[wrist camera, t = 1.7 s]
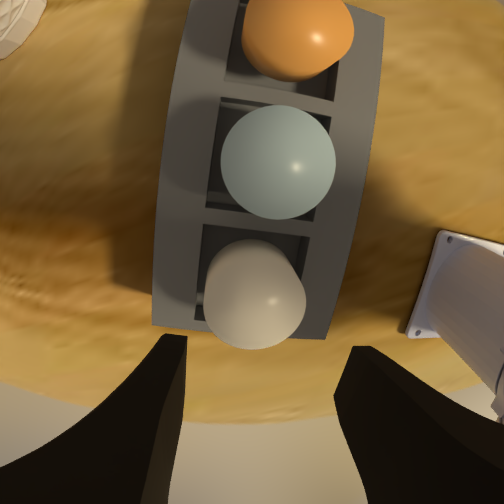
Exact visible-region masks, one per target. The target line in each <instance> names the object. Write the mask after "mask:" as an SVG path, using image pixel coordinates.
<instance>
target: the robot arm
mask: <svg viewBox="0 0 504 504" xmlns="http://www.w3.org/2000/svg"><path fill="white" fill-rule="evenodd" d="M448 237H449V240H448V241H447V239H448ZM417 330H418V331H417ZM416 331H417V332H416ZM405 335H406V336H407V337H408V338H436V337H441V338H442V339H443V340H444V341H445V342H446V343H447V344H448V345H449V346H450V347H451V348H452V349H453V350H454V351H455V352H456V353H457V354H458V355H459V356H460V357H461V358H462V359H463V360H464V361H465V362H466V363H467V364H468V365H469V367H470V368H471V369H472V370H473V371H474V372H475V373H476V374H477V375H478V376H479V377H480V378H481V379H482V381H483V382H484V383H485V384H486V385H487V386H488V387H489V388H490V389H491V390H492V391H493V392H494V394H495V395H496V397H495V399H494V401H493V403H492V404H491V408H492V409H493V410H494V411H495V412H496V413H497V415H498V416H499V417H498V418H497V420H496V422H495V421H493V420H490V419H488V418H486V417H483V416H481V415H479V414H477V413H475V412H473V411H471V410H469V409H467V408H465V407H463V406H461V405H459V404H458V403H456V402H454V401H453V400H451V399H449V398H448V397H446V396H445V395H443V394H441V393H440V392H438V391H436V390H435V389H433V388H432V387H430V386H429V385H427V384H426V383H425V382H423V381H422V380H420V379H419V378H417V377H416V376H414V375H413V374H412V373H410V372H409V371H407V370H406V369H404V368H403V367H402V366H400V365H399V364H397V363H396V362H395V361H393V360H392V359H390V358H389V357H387V356H386V355H384V354H383V353H381V352H380V351H378V350H377V349H375V348H373V347H371V346H353V347H352V350H351V352H350V355H349V358H348V360H347V363H346V366H345V368H344V371H343V373H342V376H341V378H340V381H339V383H338V386H337V388H336V391H335V393H334V395H333V396H334V401H335V406H336V411H337V415H338V419H339V423H340V426H341V428H342V431H343V433H344V436H345V439H346V441H347V444H348V446H349V449H350V451H351V454H352V456H353V459H354V462H355V464H356V466H357V469H358V472H359V474H360V477H361V479H362V483H363V486H364V489H365V492H366V496H367V500H368V504H504V245H503V244H499V243H495V242H491V241H488V240H484V239H480V238H475V237H471V236H467V235H463V234H459V233H454V232H450V231H446V230H441V231H439V233H438V234H437V237H436V241H435V244H434V248H433V251H432V255H431V258H430V262H429V265H428V268H427V272H426V275H425V278H424V281H423V284H422V287H421V290H420V293H419V296H418V299H417V302H416V304H415V307H414V310H413V313H412V315H411V318H410V321H409V323H408V326H407V328H406V331H405ZM187 337H188V336H182V335H174V334H166V333H165V334H164V335H162V336H161V337H160V338H159V340H158V341H157V343H156V344H155V345H154V347H153V348H152V349H151V351H150V352H149V353H148V354H147V356H146V357H145V358H144V359H143V360H142V362H141V363H140V364H139V365H138V366H137V367H136V368H135V369H134V371H133V372H132V373H131V374H130V375H129V376H128V377H127V378H126V379H125V380H124V381H123V382H122V383H121V384H120V385H119V386H118V387H117V388H116V389H115V390H114V391H113V392H112V393H111V394H110V395H109V396H108V397H107V398H106V399H105V400H104V401H103V402H102V403H101V404H99V405H98V406H97V407H96V408H95V409H94V410H92V411H91V412H90V413H89V414H88V415H87V416H85V417H84V418H82V419H81V420H80V421H79V422H77V423H76V424H75V425H73V426H72V427H71V428H69V429H68V430H66V431H65V432H63V433H62V434H60V435H59V436H57V437H56V438H54V439H53V440H51V441H50V442H48V443H47V444H45V445H43V446H42V447H40V448H38V449H36V450H35V451H32V452H31V453H29V454H27V455H25V456H23V457H21V458H19V459H17V460H15V461H13V462H11V463H9V464H7V465H5V466H2V467H0V504H168V495H169V488H170V481H171V476H172V470H173V465H174V460H175V455H176V450H177V445H178V440H179V435H180V429H181V425H182V419H183V408H184V397H185V379H186V356H187Z"/></svg>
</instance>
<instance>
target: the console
mask: <svg viewBox="0 0 504 504" xmlns="http://www.w3.org/2000/svg"><path fill="white" fill-rule="evenodd" d="M248 2H249V0H191V2H190V6H189V10H188V14H187V18H186V22H185V26H184V30H183V35H182V39H181V44H180V48H179V53H178V58H177V63H176V68H175V73H174V78H173V84H172V90H171V95H170V101H169V107H168V114H167V120H166V127H165V134H164V142H163V149H162V158H161V166H160V175H159V185H158V196H157V207H156V220H155V235H154V254H153V280H152V325H155V326H163V327H170V328H178V329H187V330H196V331H205V332H212V331H211V329H210V328H209V326H208V324H207V322H206V320H205V316H204V310H203V302H204V293H205V284H206V276H207V271H208V268H209V265H210V263H211V261H212V259H213V258H214V256H215V255H216V254H217V253H218V252H219V251H220V250H221V249H222V248H224V247H225V246H227V245H229V244H231V243H233V242H236V241H239V240H243V239H258V240H263V241H266V242H269V243H271V244H273V245H275V246H276V247H278V248H279V249H280V250H281V251H282V252H283V253H284V254H285V255H286V257H287V259H288V260H289V262H290V264H291V265H292V267H293V269H294V271H295V273H296V274H297V276H298V278H299V280H300V282H301V283H302V286H303V288H304V291H305V295H306V309H305V313H304V316H303V319H302V321H301V323H300V324H299V326H298V327H297V329H296V330H295V331H294V332H293V333H292V334H291V335H290V336H289V337H288V338H297V339H322V340H325V339H326V336H327V333H328V329H329V326H330V323H331V319H332V316H333V312H334V309H335V305H336V302H337V298H338V295H339V291H340V288H341V284H342V280H343V276H344V272H345V269H346V265H347V261H348V257H349V253H350V248H351V244H352V240H353V236H354V231H355V227H356V222H357V218H358V213H359V209H360V204H361V199H362V194H363V189H364V184H365V178H366V173H367V167H368V162H369V156H370V150H371V144H372V137H373V131H374V124H375V117H376V109H377V101H378V93H379V84H380V74H381V64H382V52H383V38H384V21H385V18H384V17H382V16H379V15H377V14H374V13H371V12H369V11H366V10H363V9H360V8H358V7H355V6H352V5H349V4H346V3H344V4H345V6H346V7H347V9H348V10H349V12H350V15H351V17H352V20H353V25H354V37H353V41H352V44H351V46H350V48H349V50H348V51H347V53H346V54H345V55H344V56H343V57H342V58H341V59H339V60H338V61H336V62H335V63H333V64H332V65H331V66H329V67H328V68H326V69H325V70H324V71H322V72H321V73H319V74H318V75H317V76H315V77H313V78H311V79H308V80H306V81H301V82H282V81H278V80H274V79H272V78H269V77H267V76H265V75H264V74H262V73H260V72H259V71H258V70H257V69H255V68H254V67H253V66H252V65H251V63H250V62H249V61H248V59H247V58H246V56H245V54H244V51H243V48H242V43H241V36H242V29H243V24H244V18H245V13H246V8H247V5H248ZM272 105H284V106H290V107H294V108H297V109H300V110H302V111H304V112H306V113H308V114H309V115H311V116H312V117H314V118H315V119H316V120H317V121H318V122H319V123H320V124H321V125H322V126H323V127H324V129H325V130H326V132H327V133H328V135H329V137H330V139H331V141H332V144H333V147H334V151H335V158H336V167H335V174H334V178H333V181H332V184H331V186H330V188H329V190H328V192H327V194H326V195H325V196H324V198H323V199H322V200H321V201H320V202H319V203H318V204H317V205H316V206H315V207H314V208H312V209H311V210H309V211H308V212H306V213H304V214H302V215H300V216H297V217H294V218H289V219H281V220H276V219H267V218H263V217H260V216H257V215H255V214H253V213H251V212H249V211H247V210H246V209H244V208H243V207H242V206H241V205H240V204H238V203H237V202H236V200H235V199H234V198H233V197H232V196H231V194H230V193H229V191H228V189H227V187H226V185H225V183H224V180H223V177H222V172H221V152H222V148H223V144H224V142H225V139H226V137H227V135H228V133H229V132H230V130H231V129H232V127H233V126H234V125H235V124H236V123H237V122H238V121H239V120H240V119H241V118H242V117H244V116H245V115H246V114H248V113H250V112H251V111H254V110H256V109H258V108H262V107H265V106H272Z"/></svg>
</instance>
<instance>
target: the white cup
mask: <svg viewBox="0 0 504 504" xmlns="http://www.w3.org/2000/svg"><path fill="white" fill-rule="evenodd" d="M46 3H47V0H0V60H1V59H4V58H6V57H7V56H8V55H10V54H11V53H12V52H13V51H15V50H16V49H17V48H18V47H20V46H21V45H22V44H23V42H24V41H25V40H26V39H27V37H28V36H29V35H30V33H31V32H32V31H33V30H34V28H35V27H36V26H37V24H38V22H39V19H40V17H41V15H42V13H43V11H44V9H45V7H46Z"/></svg>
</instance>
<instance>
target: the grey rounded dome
mask: <svg viewBox="0 0 504 504" xmlns="http://www.w3.org/2000/svg"><path fill="white" fill-rule="evenodd" d="M335 167H336V158H335V151H334V147H333V144H332V141H331V139H330V137H329V135H328V133H327V132H326V130H325V129H324V127H323V126H322V125H321V124H320V123H319V122H318V121H317V120H316V119H315V118H314V117H312V116H311V115H309V114H308V113H306V112H304V111H302V110H300V109H297V108H294V107H290V106H284V105H272V106H265V107H262V108H258V109H256V110H254V111H251V112H250V113H248V114H246V115H245V116H244V117H242V118H241V119H240V120H239V121H238V122H237V123H236V124H235V125H234V126H233V127H232V129H231V130H230V132H229V133H228V135H227V137H226V139H225V142H224V144H223V148H222V152H221V172H222V177H223V180H224V183H225V185H226V187H227V189H228V191H229V193H230V194H231V196H232V197H233V198H234V199H235V200H236V202H237V203H238V204H240V205H241V206H242V207H243V208H244V209H246V210H247V211H249V212H251V213H253V214H255V215H257V216H260V217H263V218H267V219H276V220H281V219H289V218H294V217H297V216H300V215H302V214H304V213H306V212H308V211H309V210H311V209H312V208H314V207H315V206H316V205H317V204H318V203H319V202H320V201H321V200H322V199H323V198H324V196H325V195H326V194H327V192H328V190H329V188H330V186H331V184H332V181H333V178H334V174H335Z"/></svg>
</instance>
